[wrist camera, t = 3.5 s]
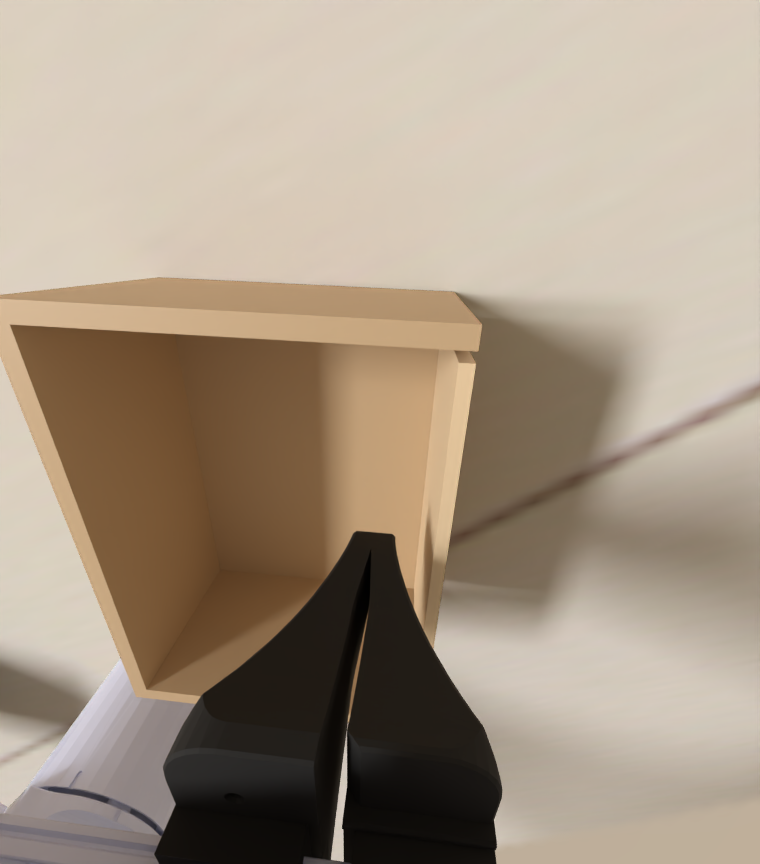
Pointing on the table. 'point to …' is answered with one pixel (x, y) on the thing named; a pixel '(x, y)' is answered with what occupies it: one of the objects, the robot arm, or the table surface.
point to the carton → (226, 448)
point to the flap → (441, 481)
